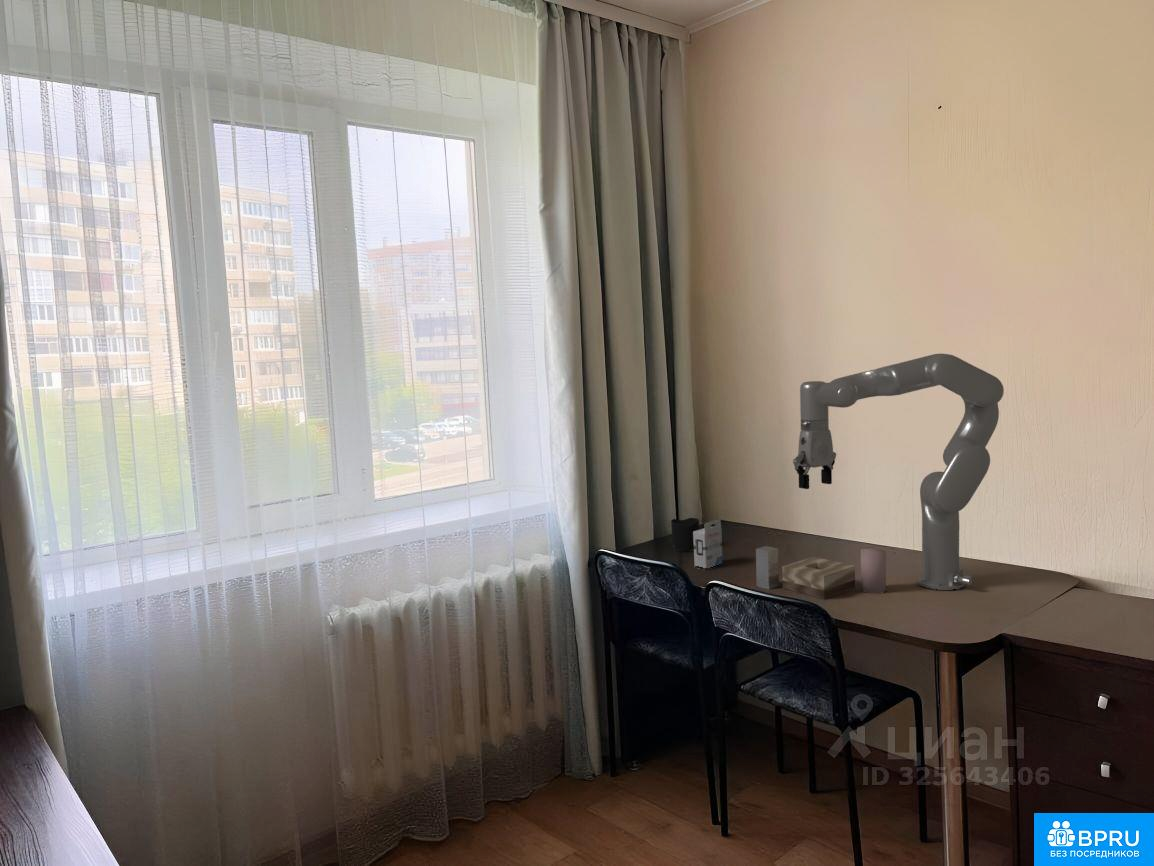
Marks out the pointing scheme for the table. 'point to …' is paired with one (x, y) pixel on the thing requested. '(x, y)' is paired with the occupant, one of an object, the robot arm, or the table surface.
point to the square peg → (767, 567)
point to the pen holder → (684, 533)
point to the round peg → (873, 570)
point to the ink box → (708, 545)
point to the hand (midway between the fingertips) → (815, 486)
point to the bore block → (818, 577)
